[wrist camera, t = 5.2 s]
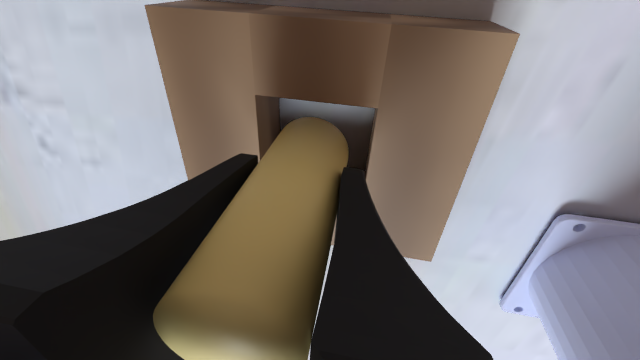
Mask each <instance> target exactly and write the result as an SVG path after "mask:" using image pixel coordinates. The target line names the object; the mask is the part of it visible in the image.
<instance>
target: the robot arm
mask: <svg viewBox="0 0 640 360" xmlns="http://www.w3.org/2000/svg"><path fill="white" fill-rule="evenodd" d="M257 164H258V155H251V154H244V153H240V154H238V155H236V156H234V157H232V158H230V159H228V160H226V161H224V162H222V163H220V164H218V165H217V166H215V167H213V168H211V169H209V170H207V171H205V172H204V173H202V174H200V175H198V176H196V177H194V178H192V179H190V180H188V181H186V182H184V183H182V184H180V185H178V186H176V187H174V188H172V189H169V190H167V191H165V192H163V193H161V194H159V195H156V196H154V197H151V198H149V199H147V200H144V201H141V202H139V203H136V204H134V205H131V206H128V207H126V208H123V209H120V210H117V211H114V212H111V213H107V214H104V215H101V216H98V217H95V218H92V219H89V220H86V221H82V222H79V223H75V224H71V225H68V226H64V227H60V228H56V229H52V230H48V231H44V232H40V233H36V234H32V235H27V236H23V237H18V238H13V239H8V240H3V241H0V360H184V359H183V358H182V357H180V356H179V355H177V354H176V353H175V352H174V351H173V350H171V349H170V348H169V347H168V346H167V345H166V344H165V342H164V341H163V340H162V339H161V337H160V336H159V334H158V333H157V331H156V329H155V326H154V322H153V313H154V310H155V308H156V306H157V305H158V303H159V302H160V300H161V299H162V298H163V296H164V295H165V293H166V292H167V290H168V289H169V288H170V286H171V285H172V283H173V282H174V281H175V279H176V278H177V276H178V275H179V274H180V272H181V271H182V269H183V268H184V267H185V265H186V264H187V262H188V261H189V260H190V258H191V257H192V255H193V254H194V253H195V251H196V250H197V248H198V247H199V246H200V244H201V243H202V241H203V240H204V239H205V237H206V236H207V234H208V233H209V232H210V230H211V229H212V227H213V226H214V225H215V223H216V222H217V220H218V219H219V218H220V216H221V215H222V213H223V212H224V211H225V209H226V208H227V206H228V205H229V204H230V202H231V201H232V199H233V198H234V197H235V195H236V194H237V192H238V191H239V190H240V188H241V187H242V185H243V184H244V183H245V181H246V180H247V178H248V177H249V176H250V174H251V173H252V171H253V170H254V169H255V167H256V166H257ZM577 224H579V225H578V226H575V225H577ZM499 304H500V307H501V309H502V310H503V311H505V312H509V313H515V314H520V315H526V316H531V317H537V318H540V320H541V322H542V324H543V326H544V329H545V331H546V333H547V335H548V338H549V340H550V342H551V344H552V346H553V349H554V351H555V353H556V355H557V357H558V360H640V224H636V223H629V222H622V221H615V220H608V219H601V218H594V217H587V216H580V215H573V214H564V215H560V216H558V217H557V218H556V219H555V220H554V221H553V222H552V224H551V225H550V227H549V228H548V230H547V231H546V233H545V234H544V236H543V237H542V239H541V240H540V242H539V243H538V245H537V246H536V248H535V249H534V251H533V252H532V254H531V255H530V257H529V258H528V260H527V262H526V263H525V265H524V266H523V268H522V269H521V271H520V272H519V274H518V275H517V277H516V278H515V280H514V281H513V283H512V284H511V286H510V287H509V289H508V290H507V292H506V293H505V295H504V296H503V298H502V299H501V301H500V303H499ZM310 360H493V358H492V356H491V354H490V353H489V352H488V351H487V350H486V349H485V348H484V347H483V346H482V345H481V344H480V343H479V342H478V341H477V340H476V339H474V338H473V337H472V336H471V335H470V334H469V333H468V332H467V331H466V330H465V329H464V328H463V327H462V326H461V325H460V324H459V323H458V322H457V321H456V320H455V319H454V318H453V317H452V316H451V315H450V314H449V313H448V312H447V311H446V310H445V308H444V307H443V306H442V305H441V304H440V303H439V302H438V301H437V300H436V298H435V297H434V296H433V295H432V294H431V292H430V291H429V290H428V289H427V287H426V286H425V285H424V284H423V283H422V281H421V280H420V279H419V278H418V276H417V275H416V274H415V273H414V271H413V270H412V269H411V267H410V266H409V265H408V263H407V262H406V260H405V259H404V257H403V256H402V255H401V253H400V252H399V250H398V248H397V247H396V245H395V244H394V242H393V241H392V239H391V237H390V235H389V234H388V232H387V230H386V228H385V226H384V224H383V222H382V221H381V219H380V216H379V214H378V212H377V210H376V208H375V205H374V203H373V201H372V198H371V195H370V193H369V190H368V186H367V183H366V179H365V173H364V171H363V170H362V169H355V168H348V167H344V168H343V171H342V175H341V181H340V190H339V201H338V212H337V219H336V228H335V238H334V247H333V252H332V256H331V261H330V265H329V270H328V274H327V279H326V283H325V287H324V292H323V296H322V300H321V304H320V308H319V312H318V316H317V320H316V324H315V328H314V332H313V336H312V340H311V352H310Z"/></svg>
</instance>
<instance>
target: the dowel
mask: <svg viewBox="0 0 640 360" xmlns="http://www.w3.org/2000/svg"><path fill="white" fill-rule="evenodd" d="M348 157H349V149H348V144H347V142H346V139H345V137H344V136H343V134H342V133H341V132H340V130H339V129H338V128H337V127H335V126H334V125H333V124H331V123H330V122H328V121H326V120H323V119H320V118H316V117H303V118H298V119H296V120H293V121H291V122H290V123H288V124H287V125H286V126H285V127H284V128H283V129H282V131H281V132H280V134H279V135H278V136H277V138H276V139H275V141H274V142H273V143H272V145H271V146H270V148H269V149H268V150H267V152H266V153H265V155H264V156H263V157H262V159H261V160H260V162H259V163H258V164H257V166H256V167H255V169H254V170H253V171H252V173H251V174H250V176H249V177H248V178H247V180H246V181H245V183H244V184H243V185H242V187H241V188H240V190H239V191H238V192H237V194H236V195H235V197H234V198H233V199H232V201H231V202H230V204H229V205H228V206H227V208H226V209H225V211H224V212H223V213H222V215H221V216H220V218H219V219H218V220H217V222H216V223H215V225H214V226H213V227H212V229H211V230H210V232H209V233H208V234H207V236H206V237H205V239H204V240H203V241H202V243H201V244H200V246H199V247H198V248H197V250H196V251H195V253H194V254H193V255H192V257H191V258H190V260H189V261H188V262H187V264H186V265H185V267H184V268H183V269H182V271H181V272H180V274H179V275H178V276H177V278H176V279H175V281H174V282H173V283H172V285H171V286H170V288H169V289H168V290H167V292H166V293H165V295H164V296H163V298H162V299H161V300H160V302H159V303H158V305H157V306H156V308H155V310H154V313H153V322H154V326H155V329H156V331H157V333H158V334H159V336H160V337H161V339H162V340H163V341H164V342H165V344H166V345H167V346H168V347H169V348H170V349H171V350H173V351H174V352H175V353H176V354H177V355H179V356H180V357H182V358H183V359H184V360H307V359H308V354H309V349H310V344H311V340H312V335H313V330H314V325H315V320H316V315H317V310H318V305H319V300H320V295H321V290H322V285H323V281H324V276H325V271H326V266H327V261H328V256H329V251H330V246H331V241H332V236H333V231H334V226H335V221H336V217H337V212H338V201H339V190H340V181H341V175H342V171H343V168H344V167H347V162H348Z"/></svg>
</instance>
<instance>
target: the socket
mask: <svg viewBox="0 0 640 360" xmlns="http://www.w3.org/2000/svg"><path fill="white" fill-rule="evenodd" d="M145 9H146V13H147V17H148V21H149V25H150V29H151V33H152V37H153V41H154V45H155V49H156V53H157V57H158V61H159V65H160V69H161V73H162V77H163V81H164V85H165V89H166V93H167V97H168V101H169V105H170V109H171V113H172V117H173V121H174V125H175V129H176V133H177V137H178V141H179V145H180V149H181V153H182V157H183V161H184V165H185V169H186V173H187V177H188V180H190V179H192V178H194V177H196V176H198V175H200V174H202V173H204V172H205V171H207V170H209V169H211V168H213V167H215V166H217V165H218V164H220V163H222V162H224V161H226V160H228V159H230V158H232V157H234V156H236V155H238V154H240V153H244V154H251V155H258V163H259V162H260V160H261V159H262V157H263V156H264V155H265V153H266V152H267V150H268V149H269V148H270V146H271V145H272V143H273V142H274V141H275V139H276V138H277V136H278V135H279V134H280V117H279V98H288V99H297V100H306V101H315V102H324V103H333V104H342V105H351V106H360V107H369V108H375V113H374V119H373V126H372V132H371V138H370V145H369V151H368V157H367V163H366V170H365V171H364V173H365V179H366V183H367V186H368V190H369V193H370V195H371V198H372V201H373V203H374V205H375V208H376V210H377V212H378V214H379V216H380V219H381V221H382V222H383V224H384V226H385V228H386V230H387V232H388V234H389V235H390V237H391V239H392V241H393V242H394V244H395V245H396V247H397V248H398V250H399V252H400V253H401V255H402V256H403V257H407V258H413V259H419V260H424V261H430V262H431V260H432V258H433V255H434V253H435V250H436V248H437V245H438V243H439V240H440V237H441V235H442V232H443V230H444V227H445V225H446V222H447V219H448V217H449V214H450V212H451V209H452V207H453V204H454V202H455V199H456V196H457V194H458V191H459V189H460V186H461V184H462V181H463V179H464V176H465V173H466V171H467V168H468V166H469V163H470V161H471V158H472V155H473V153H474V150H475V148H476V145H477V143H478V140H479V138H480V135H481V132H482V130H483V127H484V125H485V122H486V120H487V117H488V115H489V112H490V109H491V107H492V104H493V102H494V99H495V97H496V94H497V91H498V89H499V86H500V84H501V81H502V79H503V76H504V74H505V71H506V68H507V66H508V63H509V61H510V58H511V56H512V53H513V51H514V48H515V45H516V43H517V40H518V38H519V35H520V34H519V33H516V32H514V31H512V30H509V29H507V28H505V27H503V26H500V25H498V24H496V23H493V22H491V21H479V20H465V19H452V18H438V17H424V16H410V15H397V14H383V13H369V12H355V11H342V10H328V9H314V8H300V7H287V6H273V5H259V4H245V3H232V2H218V1H204V0H183V1H175V2H167V3H159V4H151V5H145ZM336 219H337V217H336ZM335 228H336V221H335V226H334V231H333V236H332V241H331V245H334V238H335Z"/></svg>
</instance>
